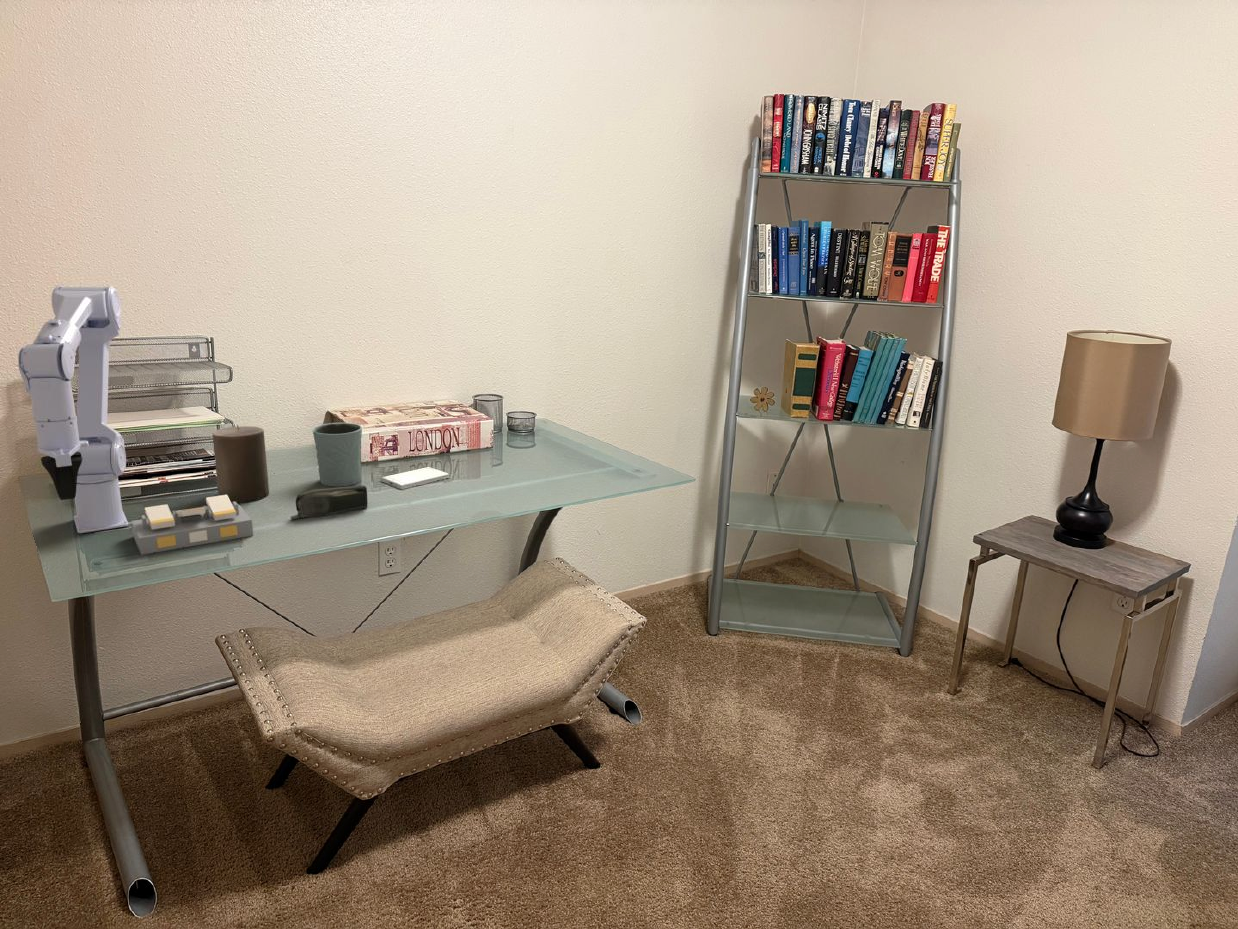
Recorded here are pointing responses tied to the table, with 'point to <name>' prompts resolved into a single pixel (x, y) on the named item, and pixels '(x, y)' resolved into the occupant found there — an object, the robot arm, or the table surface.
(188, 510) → the rocker
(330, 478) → the grey green cup
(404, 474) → the hard drive
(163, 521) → the block
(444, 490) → the table surface
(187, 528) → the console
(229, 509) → the rocker
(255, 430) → the pillar candle
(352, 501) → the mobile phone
